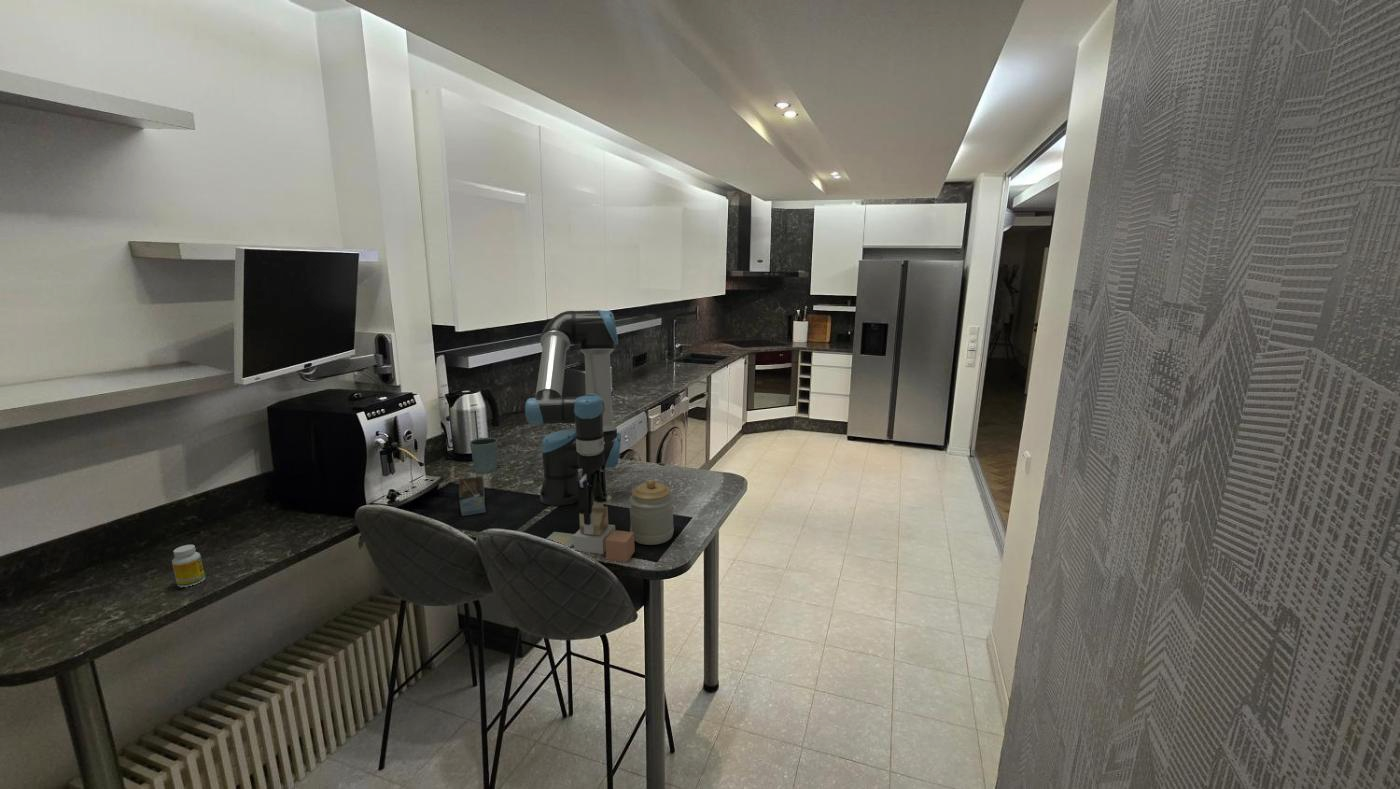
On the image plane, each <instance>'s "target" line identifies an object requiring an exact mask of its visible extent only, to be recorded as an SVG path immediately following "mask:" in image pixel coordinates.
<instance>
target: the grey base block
mask: <svg viewBox="0 0 1400 789" xmlns="http://www.w3.org/2000/svg"><path fill="white" fill-rule="evenodd" d="M614 530H616V525H615V524H609V523H608V527H607V528H606V529H605V530H604V532H603V533H602V534H601V535H591V534H583V533H580V528H579V529H578V530H577V531H576V532H575V533H573V534H574V535H573V550H574V549H576V550H578V551H577V552H584V553H591V554H599V555H600V554H601V555H604V554H606V543H605V540H606V539H607V537H608V536H609V535H610V534H611V533H612V532H613V531H614Z"/></svg>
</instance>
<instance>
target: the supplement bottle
mask: <svg viewBox="0 0 1400 789" xmlns="http://www.w3.org/2000/svg"><path fill="white" fill-rule="evenodd" d="M172 552H173V556H174V558H173V559H172V561H171V564H172V568H173V573H174V577H175V581H176V582H175V583H176V585H177V587H178V586H179V587H178V588H183V587H185V588H189V587H188V586H191V587H193V586H192V585H194V586H196V584H197V585H199V584H201V583H203V582H204V581H205V580H206V573H205V570H204V565H203V561H202V556H201V553H200V552H197V551H196V546H195V545H194V544H185V545H180V546H179V547H177V548H175V549H174V550H173V551H172ZM200 582H201V583H200ZM198 583H199V584H198Z"/></svg>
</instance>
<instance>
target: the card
mask: <svg viewBox="0 0 1400 789" xmlns="http://www.w3.org/2000/svg"><path fill="white" fill-rule="evenodd" d="M574 534H575V533H568V532H567V533H566V532H559V531H553V532H552V533H551V534H550V535H549V536H548V537H546V539H550V540H553V541H555V542H559V543H561V544H564V545H566V546H569V547H571V548H572V547H574V545H573V535H574Z"/></svg>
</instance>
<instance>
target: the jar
mask: <svg viewBox="0 0 1400 789" xmlns="http://www.w3.org/2000/svg"><path fill="white" fill-rule="evenodd" d="M628 501H629V504H630V507H629V513H630V515H629V516H630V517H629V518H630V528H629V532H634V542H636V543H637V544H640V545H649V546H652V545H654V546H655V545H660V544H664V543H666V542H668V541H669V540H671V539H672V538H673V536H674V531H675V530H674V528H675V527H674V506H673V504H672V502H674V496H673V495H672V493H671V489H670V487H669V486H667V485H665V484H663V483H661V482H656V481H655V480H654V479H647V481H646V482H642V483H640V484H638V485H637V486H635V487H634V488H633V489H632V490H631V495H630V497H629V500H628Z"/></svg>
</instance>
